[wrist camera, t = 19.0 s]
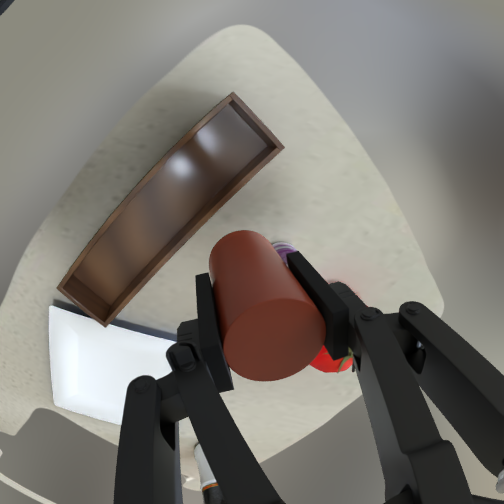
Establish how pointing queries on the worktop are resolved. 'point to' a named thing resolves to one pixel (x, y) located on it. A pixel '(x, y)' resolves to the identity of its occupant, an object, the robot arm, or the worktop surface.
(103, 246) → the wooden tray
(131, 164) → the worktop surface
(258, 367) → the spice tin
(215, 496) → the vodka
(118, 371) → the plate
